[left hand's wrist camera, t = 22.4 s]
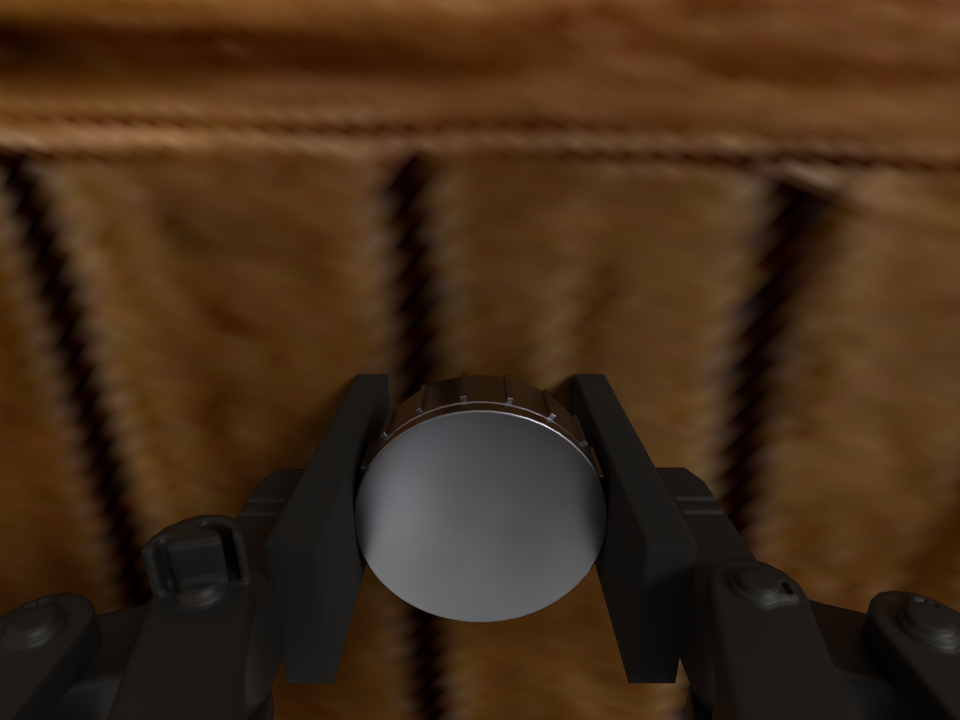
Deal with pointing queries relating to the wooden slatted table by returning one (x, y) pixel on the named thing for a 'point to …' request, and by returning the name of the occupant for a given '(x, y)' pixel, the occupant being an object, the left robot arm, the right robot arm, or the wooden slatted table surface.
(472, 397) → the lid
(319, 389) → the wooden slatted table surface
